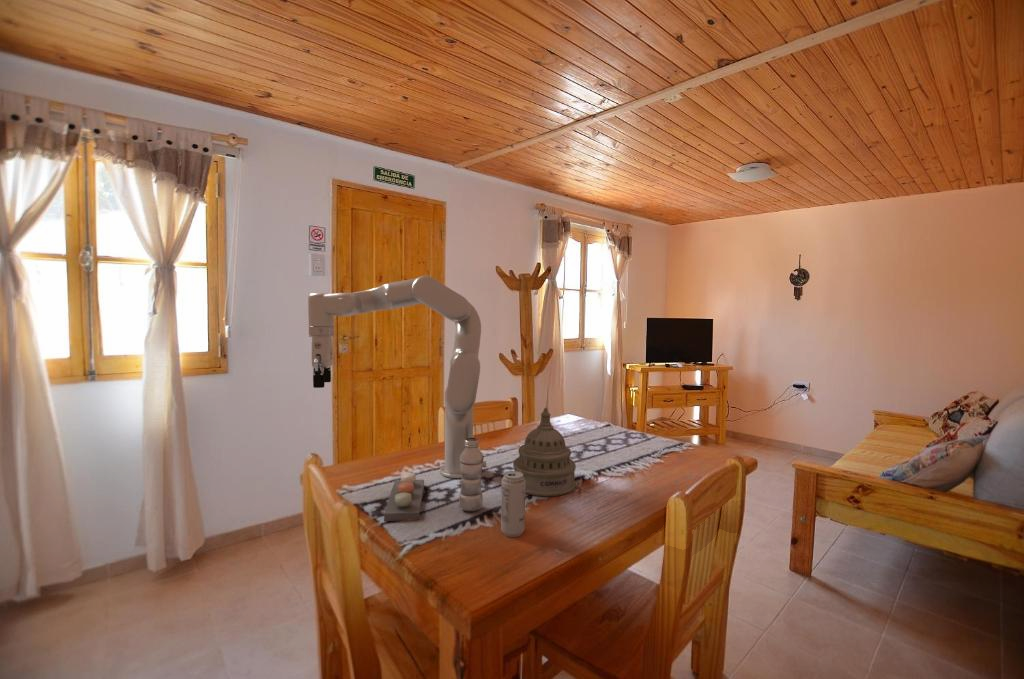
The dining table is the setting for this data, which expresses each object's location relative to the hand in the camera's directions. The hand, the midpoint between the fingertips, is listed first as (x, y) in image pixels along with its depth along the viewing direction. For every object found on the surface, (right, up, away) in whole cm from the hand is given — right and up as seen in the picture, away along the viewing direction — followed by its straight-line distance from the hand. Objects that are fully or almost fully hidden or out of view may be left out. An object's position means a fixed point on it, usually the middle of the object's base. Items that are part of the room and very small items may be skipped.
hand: (322, 384), depth 149 cm
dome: (+71, -32, 0) cm, 78 cm away
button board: (+30, -32, -15) cm, 47 cm away
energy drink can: (+61, -34, -32) cm, 77 cm away
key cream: (+30, -30, -8) cm, 43 cm away
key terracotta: (+30, -30, -15) cm, 46 cm away
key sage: (+31, -30, -23) cm, 49 cm away
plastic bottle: (+50, -33, -19) cm, 63 cm away
